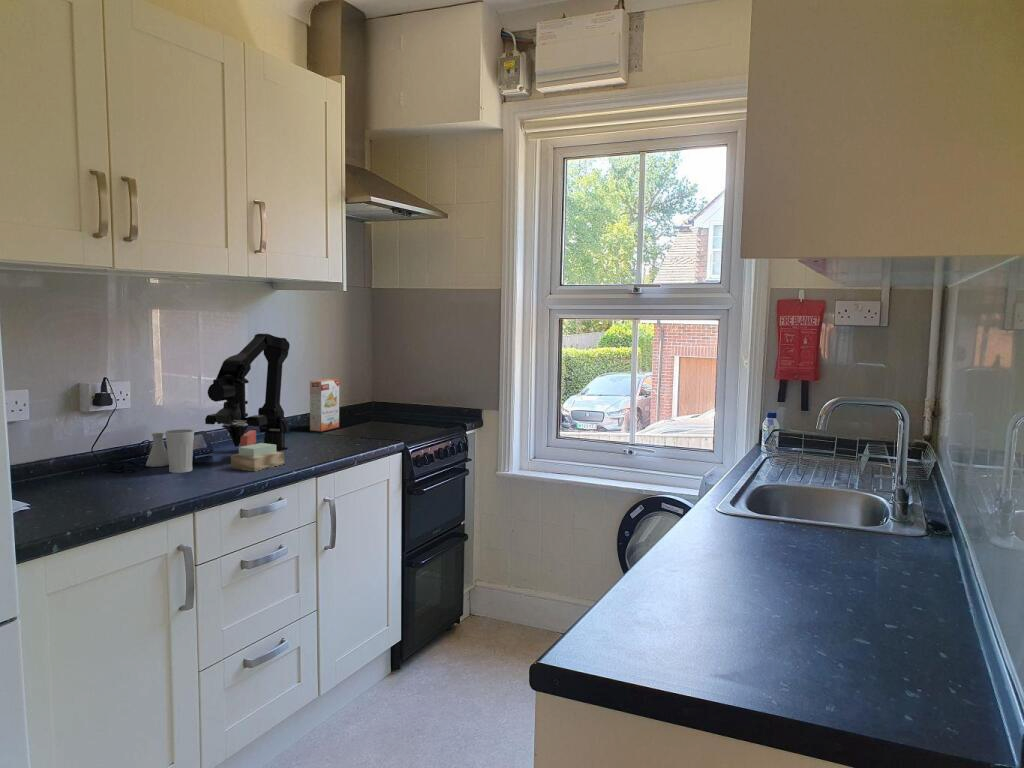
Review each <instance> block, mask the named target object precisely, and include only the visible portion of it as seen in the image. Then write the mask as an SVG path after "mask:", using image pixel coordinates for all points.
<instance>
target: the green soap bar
mask: <svg viewBox="0 0 1024 768" xmlns="http://www.w3.org/2000/svg"><path fill="white" fill-rule="evenodd" d="M272 453H276V445H275V444H266V443H264V442H260V443H254V444H253V445H247V446H242V447H241V446H238V454H239V455H241V456H249V457H257V456H262V455H267V454H272Z"/></svg>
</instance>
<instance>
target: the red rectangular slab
mask: <svg viewBox="0 0 1024 768" xmlns="http://www.w3.org/2000/svg"><path fill="white" fill-rule="evenodd" d="M253 444H257V430H254V429H253V430H252V429H251V430H248V431H247V432H246V433H244V435H243V436H241V437H240V447H242V446H247V445H253Z"/></svg>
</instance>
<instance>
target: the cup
mask: <svg viewBox="0 0 1024 768" xmlns="http://www.w3.org/2000/svg"><path fill="white" fill-rule="evenodd" d="M164 435H165V436H164V437H165V442H166V443H165V444H166V451H167V453H168V460H169V465H168V466H169V467H168V471H169V473H171V472H172V474H173V473H174V474H180V473H181V474H182V473H183V474H184V473H188V472H191V471H193V456H194V455H193V453H194V442H195V441H194V439H195V430H194V429H188V428H186V429H182V428H181V429H170V430H166V431H164Z"/></svg>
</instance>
